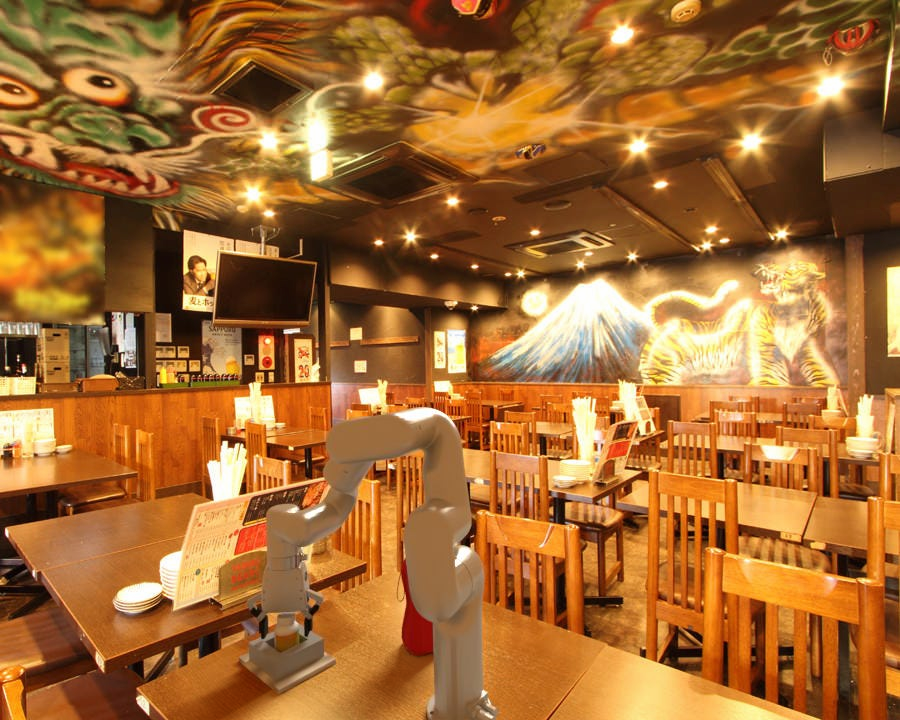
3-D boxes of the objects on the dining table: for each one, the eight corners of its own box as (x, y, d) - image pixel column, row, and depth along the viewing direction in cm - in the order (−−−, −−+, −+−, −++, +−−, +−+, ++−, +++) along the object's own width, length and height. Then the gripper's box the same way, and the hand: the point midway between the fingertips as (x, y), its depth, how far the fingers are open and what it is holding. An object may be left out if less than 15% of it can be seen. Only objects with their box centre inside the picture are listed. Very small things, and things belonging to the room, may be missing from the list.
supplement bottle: (302, 659, 115) (301, 616, 115) (278, 667, 112) (277, 623, 112) (295, 648, 120) (294, 607, 120) (272, 656, 117) (271, 614, 117)
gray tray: (335, 663, 115) (335, 658, 115) (279, 694, 105) (279, 689, 105) (293, 635, 127) (293, 631, 127) (238, 661, 117) (238, 657, 117)
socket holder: (324, 656, 116) (323, 638, 116) (276, 681, 108) (275, 662, 108) (296, 637, 125) (295, 621, 125) (249, 660, 116) (248, 642, 116)
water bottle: (391, 643, 123) (389, 540, 123) (432, 631, 128) (430, 532, 128) (406, 663, 115) (403, 553, 115) (449, 649, 120) (446, 543, 120)
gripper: (325, 552, 120) (327, 624, 120) (251, 555, 119) (253, 628, 119) (319, 565, 113) (321, 642, 113) (240, 568, 112) (241, 646, 112)
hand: (286, 634), depth 116 cm, fingers open, 9 cm apart
